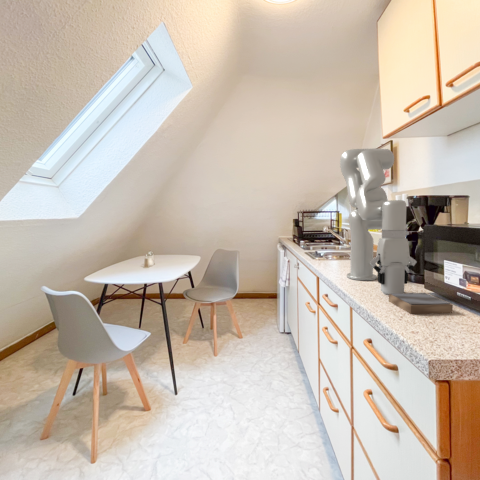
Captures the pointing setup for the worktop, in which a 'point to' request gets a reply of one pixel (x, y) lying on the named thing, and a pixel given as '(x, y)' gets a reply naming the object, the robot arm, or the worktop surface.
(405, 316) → the worktop surface
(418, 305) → the plinth
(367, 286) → the worktop surface
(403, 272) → the can
